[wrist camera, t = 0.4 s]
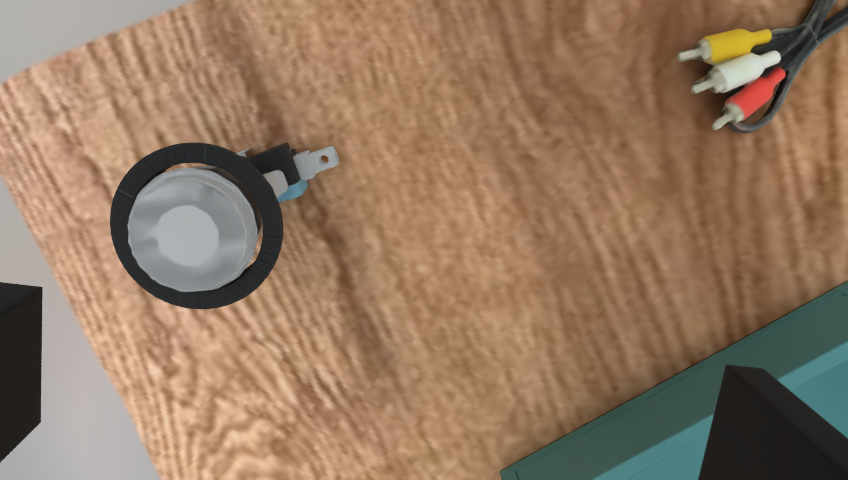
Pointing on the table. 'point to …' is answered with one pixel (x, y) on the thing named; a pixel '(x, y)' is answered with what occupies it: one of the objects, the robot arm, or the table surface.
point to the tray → (705, 402)
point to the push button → (207, 219)
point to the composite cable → (760, 64)
